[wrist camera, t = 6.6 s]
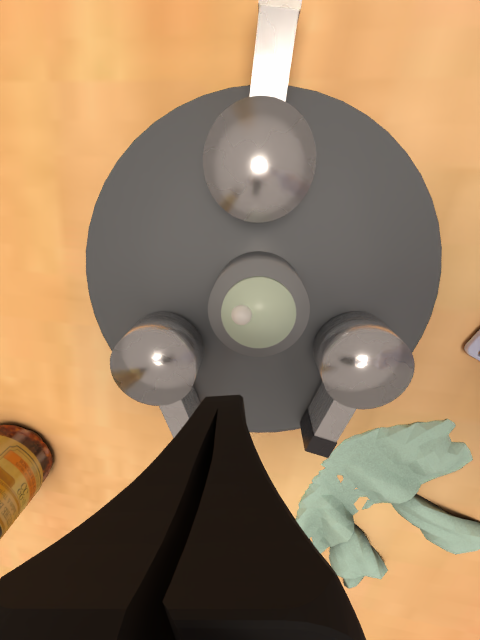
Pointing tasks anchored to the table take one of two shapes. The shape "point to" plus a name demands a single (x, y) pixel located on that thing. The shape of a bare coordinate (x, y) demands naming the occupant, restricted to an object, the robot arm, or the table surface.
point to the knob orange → (160, 365)
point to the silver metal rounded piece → (263, 131)
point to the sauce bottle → (20, 471)
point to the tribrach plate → (319, 236)
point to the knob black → (353, 375)
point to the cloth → (384, 494)
